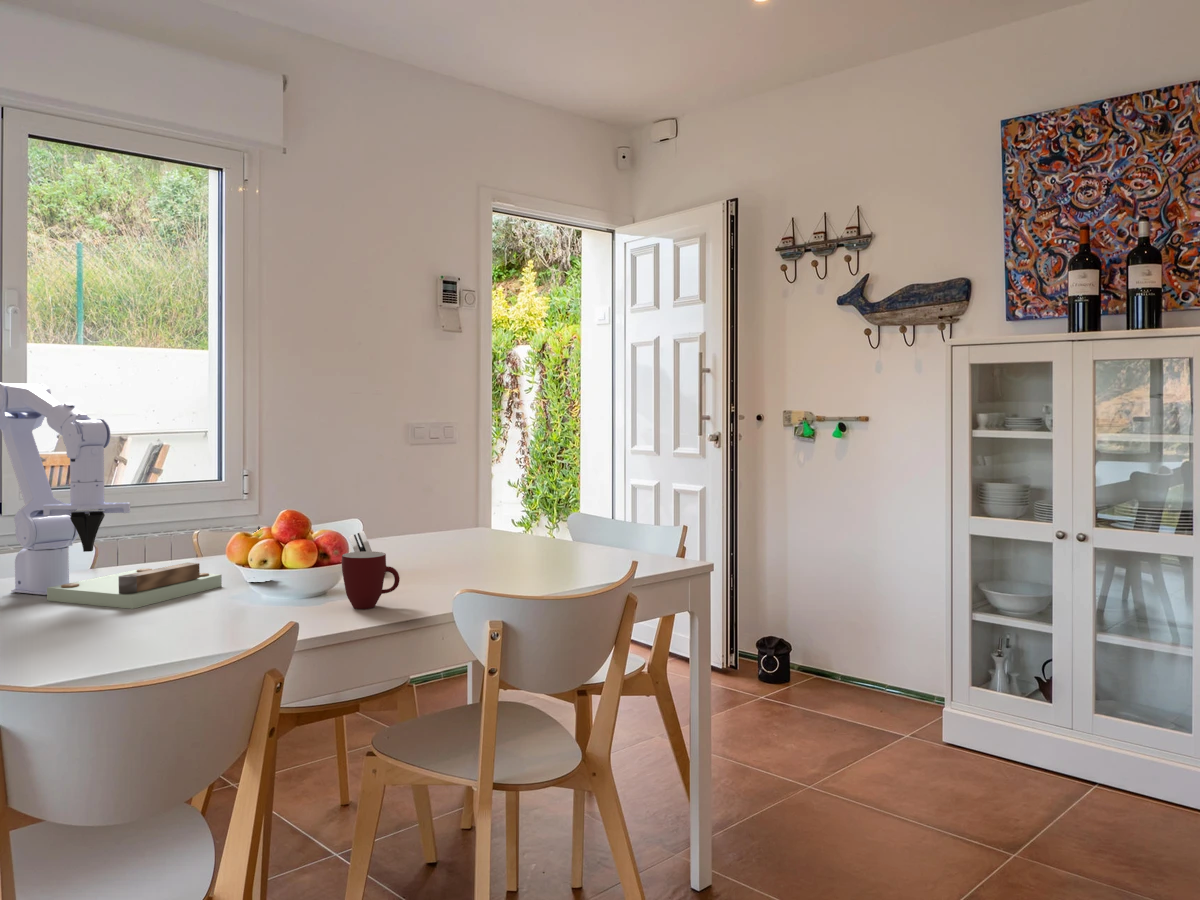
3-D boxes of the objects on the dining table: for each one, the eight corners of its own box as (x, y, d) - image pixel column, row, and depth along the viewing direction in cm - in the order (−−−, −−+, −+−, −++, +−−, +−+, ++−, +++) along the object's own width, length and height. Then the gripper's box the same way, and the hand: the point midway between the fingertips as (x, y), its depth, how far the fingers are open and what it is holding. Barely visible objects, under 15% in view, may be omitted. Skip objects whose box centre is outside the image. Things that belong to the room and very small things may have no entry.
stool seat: (47, 600, 169) (46, 586, 169) (142, 579, 191) (142, 567, 191) (132, 608, 163) (132, 593, 162) (221, 586, 184) (221, 573, 184)
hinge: (385, 573, 201) (370, 533, 199) (365, 581, 199) (350, 541, 198) (380, 562, 217) (365, 524, 215) (361, 569, 215) (347, 531, 214)
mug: (395, 600, 172) (395, 549, 172) (402, 608, 165) (402, 556, 164) (339, 604, 168) (339, 552, 168) (344, 613, 161) (344, 559, 160)
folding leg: (127, 594, 163) (127, 578, 162) (114, 592, 164) (114, 576, 164) (199, 577, 179) (199, 563, 179) (187, 576, 180) (187, 562, 180)
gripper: (39, 483, 164) (40, 555, 164) (126, 482, 169) (127, 552, 170) (47, 480, 170) (48, 550, 171) (131, 479, 176) (132, 546, 176)
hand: (88, 550), depth 171 cm, fingers closed
